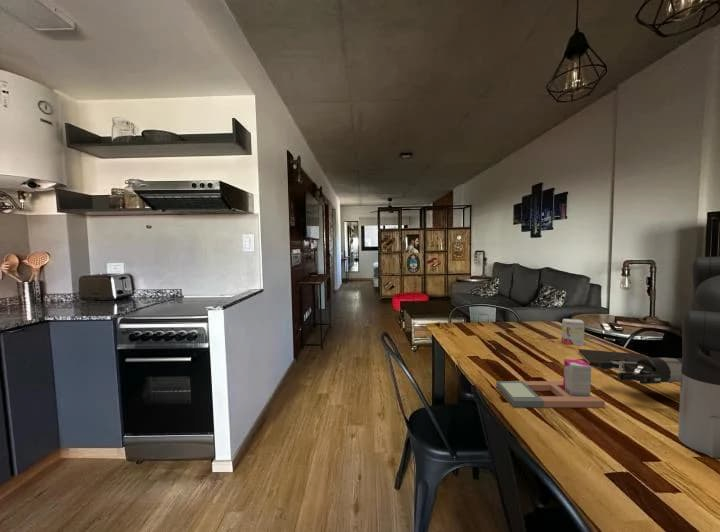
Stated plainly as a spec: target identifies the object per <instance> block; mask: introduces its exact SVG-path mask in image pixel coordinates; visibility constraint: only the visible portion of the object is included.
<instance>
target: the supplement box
mask: <svg viewBox="0 0 720 532" xmlns="http://www.w3.org/2000/svg"><path fill="white" fill-rule="evenodd" d="M563 362H564V363H563V381H564V382H563V390H564V391H565V392H566V393H568V394H569V395H570V396H591V384H592V383H591V381H592V366H590V365H589V364H588V363H587V362H585V361H584V360H582V359H566V358H565V359H564V360H563Z"/></svg>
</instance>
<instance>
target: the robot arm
mask: <svg viewBox="0 0 720 532" xmlns="http://www.w3.org/2000/svg"><path fill="white" fill-rule="evenodd" d="M691 275H692V277H691V278H692V286H693V292H694V302H695V306H696V310H694V309H693V310H688V311H686V312H685V313H684V315H683V316H682V321H681V343H682V344H681V345H682V347H681V348H682V349H681V350H682V355H681V356H682V357H681V358H680V357H679V358H676V357H675V358H674V357H673V358H671V357H646V358H642V359H640V360H639V361H638V362H637V363H636V362H628V360H627V359H608V362H599V366H598V368H599V369H601V370H617V371H619V372H618V379H619V380H620V381H633V382H639V384H641V385H654V384H662V383H676V382H677V383H678V382H680V388H679V389H680V390H679V406H678V407H679V409H678V410H679V411H678V429H677V430H678V432H677V438H678V440H679V442H681V443H682V444H683V445H685V446H686V447H688V448H689V449H692V450H694V451H696V452H699V453H702V454H704V455H707V456H708V457H710V458H711V459H713V458H714V459H715V458H716V459H717V458H718V459H719V458H720V256H701V257H700V256H699V257H696V258H695V259H694V260H693V262H692V267H691ZM702 350H705V351H707V352H709V353H710V355H711V356H709V355H706V354H705V353H704V352H703V351H702ZM622 367H624V369H622Z"/></svg>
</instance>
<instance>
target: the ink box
mask: <svg viewBox="0 0 720 532" xmlns="http://www.w3.org/2000/svg"><path fill="white" fill-rule="evenodd" d="M561 322H562V323H561V343H563V345H568V346H569V345H570V346H583V347H584V345H585V322H584V321H583V319H574V318H573V319H572V318H563V319H562V321H561Z"/></svg>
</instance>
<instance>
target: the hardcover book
mask: <svg viewBox="0 0 720 532" xmlns="http://www.w3.org/2000/svg"><path fill="white" fill-rule="evenodd" d="M578 354H579V355H580V357H582V358H583V359H584V360H585V361H586V363H587V364H588V365H590V366H591V367H599V362H608V359H627V360H628V362H636V363H637V362H638V361H639V360H640V359H642V358H647V357H646V356H645V355H643V353H632V352H631V353H630V352H618V351H606V350H595V349H594V350H593V349H583V348H582V349H581V348H578ZM622 368H623V370H624V367H622Z"/></svg>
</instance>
